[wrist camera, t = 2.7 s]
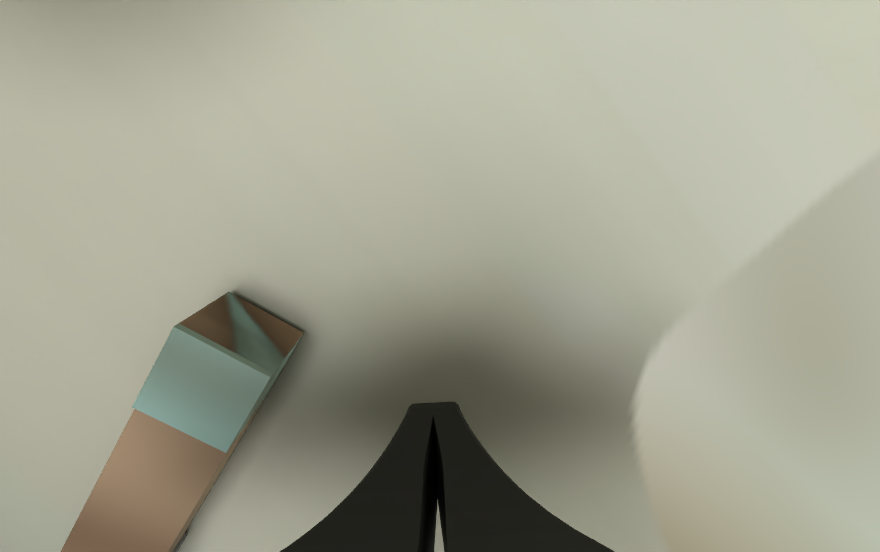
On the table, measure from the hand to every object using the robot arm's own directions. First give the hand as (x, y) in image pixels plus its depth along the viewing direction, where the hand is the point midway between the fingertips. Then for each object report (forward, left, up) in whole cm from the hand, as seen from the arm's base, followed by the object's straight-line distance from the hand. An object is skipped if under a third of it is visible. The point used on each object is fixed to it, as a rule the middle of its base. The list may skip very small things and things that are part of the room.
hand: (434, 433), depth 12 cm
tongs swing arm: (-3, +9, -1) cm, 9 cm away
